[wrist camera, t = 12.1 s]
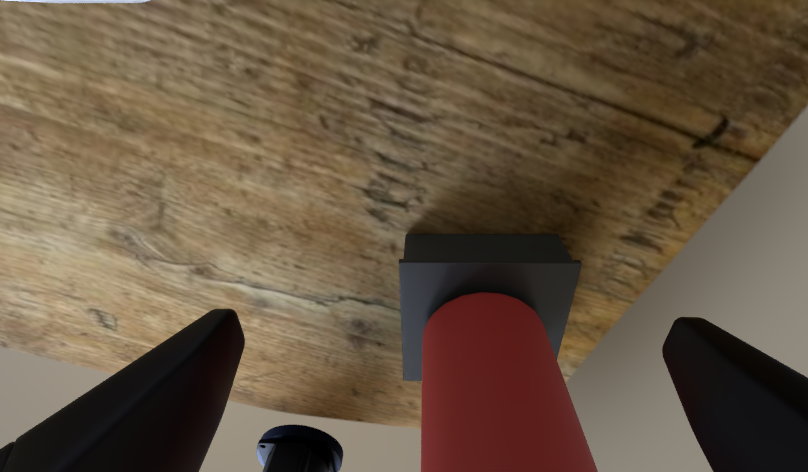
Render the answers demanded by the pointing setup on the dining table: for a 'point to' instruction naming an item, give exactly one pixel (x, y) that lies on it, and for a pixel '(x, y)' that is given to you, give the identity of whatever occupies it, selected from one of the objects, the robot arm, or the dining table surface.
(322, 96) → the dining table surface
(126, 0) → the cup
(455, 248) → the block
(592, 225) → the dining table surface
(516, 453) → the beer can
